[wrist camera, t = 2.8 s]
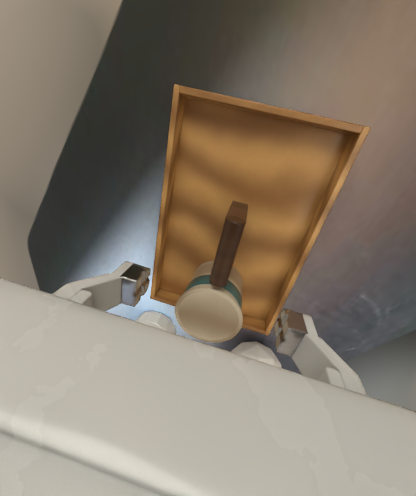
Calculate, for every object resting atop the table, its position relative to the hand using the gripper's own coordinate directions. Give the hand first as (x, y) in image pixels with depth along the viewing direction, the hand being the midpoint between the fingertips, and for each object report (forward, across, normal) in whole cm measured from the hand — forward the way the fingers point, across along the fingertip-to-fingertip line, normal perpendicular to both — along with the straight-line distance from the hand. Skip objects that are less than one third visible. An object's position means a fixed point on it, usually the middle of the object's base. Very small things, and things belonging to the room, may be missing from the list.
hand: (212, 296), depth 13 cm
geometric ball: (+14, -8, +19) cm, 25 cm away
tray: (+12, 0, 0) cm, 12 cm away
